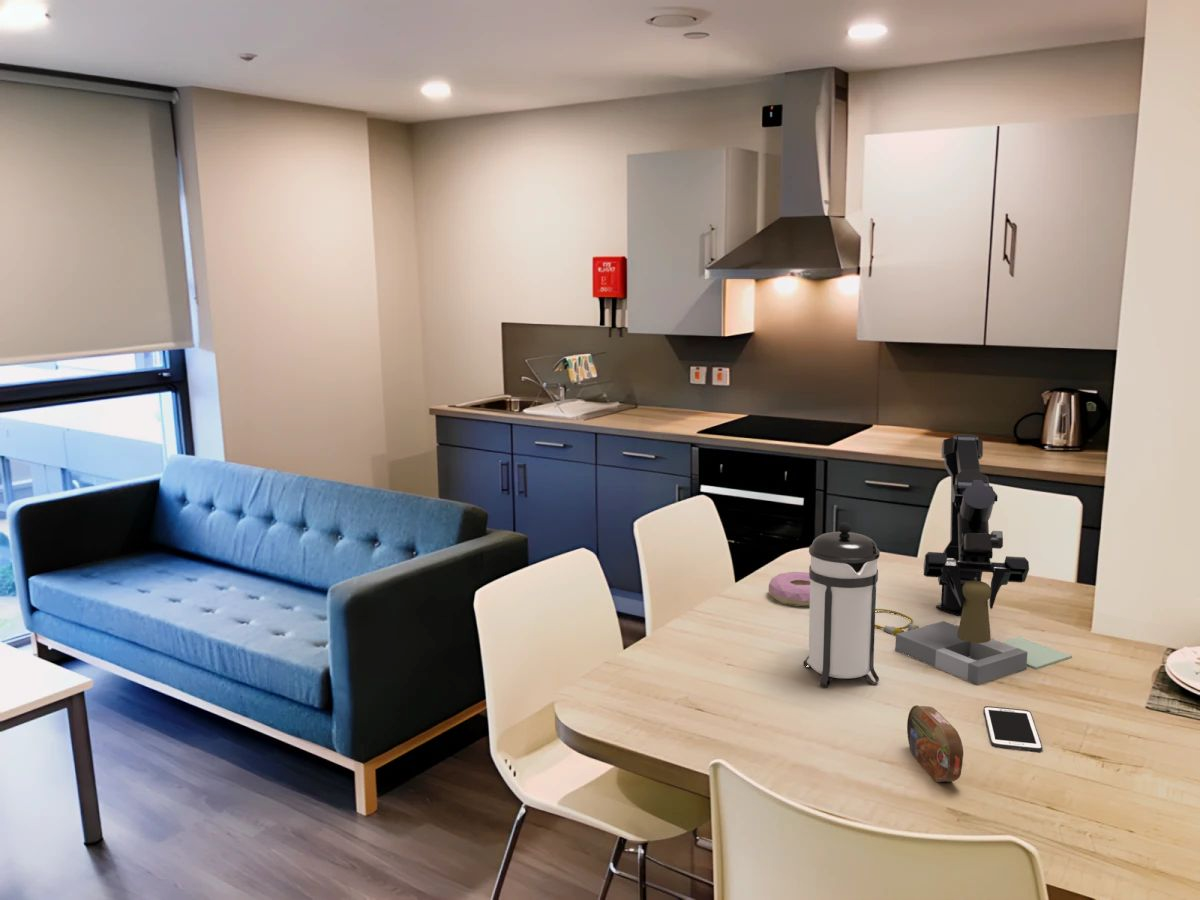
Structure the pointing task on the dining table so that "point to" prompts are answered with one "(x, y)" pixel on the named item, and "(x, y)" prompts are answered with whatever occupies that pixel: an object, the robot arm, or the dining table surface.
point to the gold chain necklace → (892, 629)
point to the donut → (791, 588)
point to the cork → (975, 613)
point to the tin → (935, 743)
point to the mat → (1038, 653)
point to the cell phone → (1012, 729)
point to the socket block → (961, 653)
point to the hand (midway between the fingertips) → (976, 606)
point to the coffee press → (842, 605)
